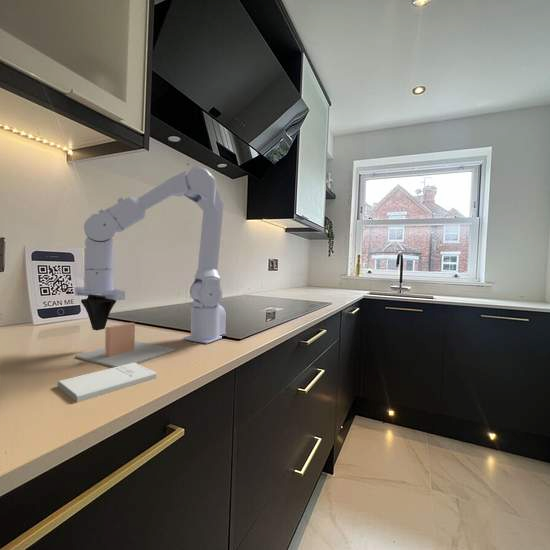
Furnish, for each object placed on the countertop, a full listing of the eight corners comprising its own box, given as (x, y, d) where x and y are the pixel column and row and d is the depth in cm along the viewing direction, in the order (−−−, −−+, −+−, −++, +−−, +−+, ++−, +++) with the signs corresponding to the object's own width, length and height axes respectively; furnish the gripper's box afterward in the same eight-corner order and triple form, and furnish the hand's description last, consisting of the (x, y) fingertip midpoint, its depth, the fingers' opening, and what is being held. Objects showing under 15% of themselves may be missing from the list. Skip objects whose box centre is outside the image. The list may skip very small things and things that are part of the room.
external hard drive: (57, 390, 48) (133, 369, 58) (77, 406, 43) (156, 380, 53) (57, 380, 48) (133, 361, 58) (77, 395, 43) (156, 371, 53)
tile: (129, 348, 68) (129, 322, 68) (134, 349, 67) (134, 323, 67) (104, 355, 62) (104, 327, 62) (109, 356, 62) (110, 328, 61)
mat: (132, 342, 75) (132, 340, 75) (175, 350, 69) (175, 348, 69) (74, 357, 62) (74, 355, 62) (121, 369, 56) (121, 367, 56)
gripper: (60, 268, 67) (60, 328, 67) (103, 271, 60) (103, 337, 61) (91, 268, 73) (91, 323, 73) (133, 270, 67) (132, 330, 67)
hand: (98, 329), depth 68 cm, fingers closed
